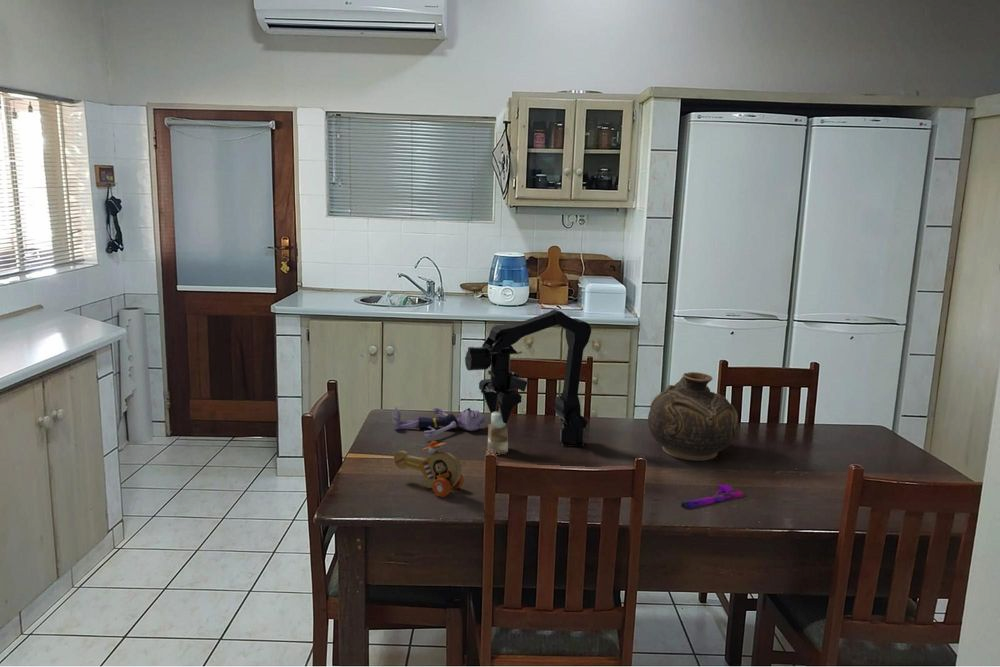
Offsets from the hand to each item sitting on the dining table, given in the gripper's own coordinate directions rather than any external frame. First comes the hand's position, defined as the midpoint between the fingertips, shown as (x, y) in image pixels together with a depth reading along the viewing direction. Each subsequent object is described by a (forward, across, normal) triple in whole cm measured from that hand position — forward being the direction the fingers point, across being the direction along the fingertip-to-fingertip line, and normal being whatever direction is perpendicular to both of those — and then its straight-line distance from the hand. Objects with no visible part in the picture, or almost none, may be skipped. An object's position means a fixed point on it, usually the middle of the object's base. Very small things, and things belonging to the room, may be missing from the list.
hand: (498, 418), depth 228 cm
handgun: (+11, -51, -39) cm, 65 cm away
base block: (+10, 0, 0) cm, 10 cm away
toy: (+11, +26, +10) cm, 30 cm away
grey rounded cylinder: (+2, 0, 0) cm, 2 cm away
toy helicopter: (+10, -19, +28) cm, 36 cm away
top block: (+6, 0, 0) cm, 6 cm away
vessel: (+11, -21, -56) cm, 61 cm away
